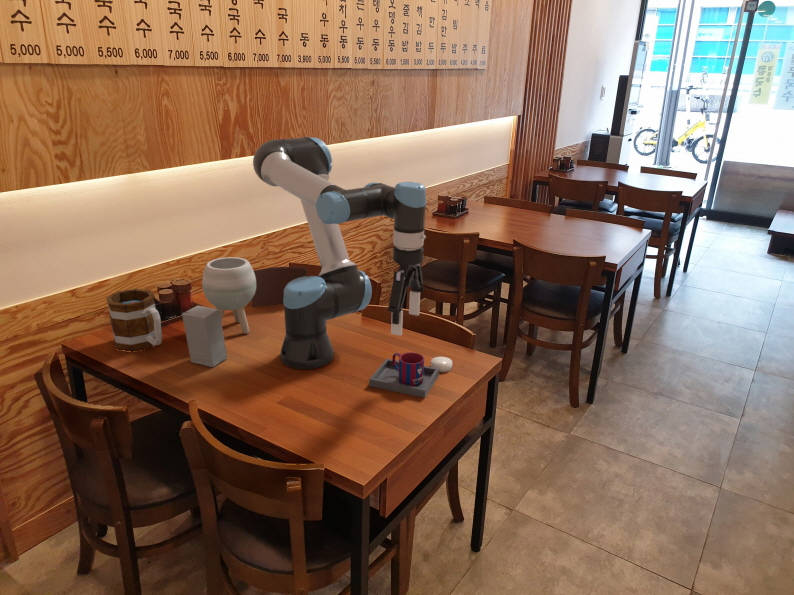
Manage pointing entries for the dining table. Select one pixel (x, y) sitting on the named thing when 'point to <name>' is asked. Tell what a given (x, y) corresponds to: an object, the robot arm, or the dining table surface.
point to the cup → (410, 368)
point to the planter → (230, 286)
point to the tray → (389, 380)
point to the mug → (134, 320)
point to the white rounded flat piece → (442, 364)
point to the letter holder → (274, 284)
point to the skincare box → (204, 336)
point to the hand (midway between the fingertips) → (405, 324)
